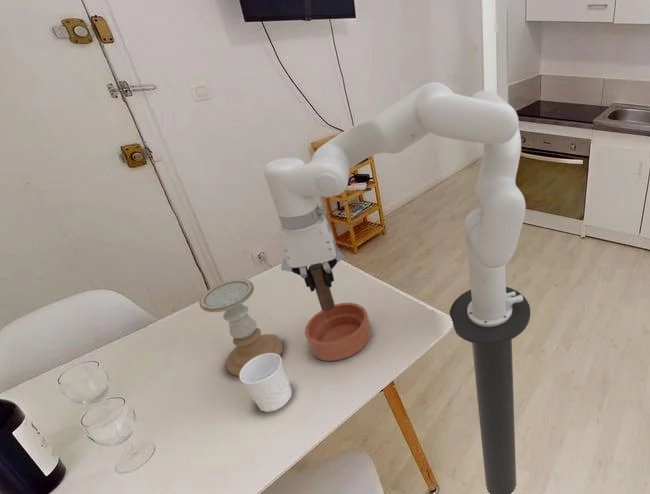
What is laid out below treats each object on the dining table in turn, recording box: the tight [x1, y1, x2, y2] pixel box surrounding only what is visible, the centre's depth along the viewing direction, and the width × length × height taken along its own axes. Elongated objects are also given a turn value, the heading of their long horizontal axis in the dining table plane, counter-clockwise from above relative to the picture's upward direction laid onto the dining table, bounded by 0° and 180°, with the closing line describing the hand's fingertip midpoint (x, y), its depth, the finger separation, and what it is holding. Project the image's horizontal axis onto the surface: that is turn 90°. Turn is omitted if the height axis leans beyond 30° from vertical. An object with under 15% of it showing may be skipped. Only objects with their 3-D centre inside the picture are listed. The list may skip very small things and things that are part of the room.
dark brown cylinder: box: [308, 263, 336, 311], centre depth 94 cm, size 3×3×12 cm
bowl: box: [304, 302, 372, 362], centre depth 103 cm, size 15×15×6 cm
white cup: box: [238, 353, 293, 413], centre depth 88 cm, size 8×8×10 cm
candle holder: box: [199, 278, 284, 377], centre depth 96 cm, size 12×12×20 cm
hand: (321, 285), depth 94 cm, fingers closed on dark brown cylinder, 3 cm apart
